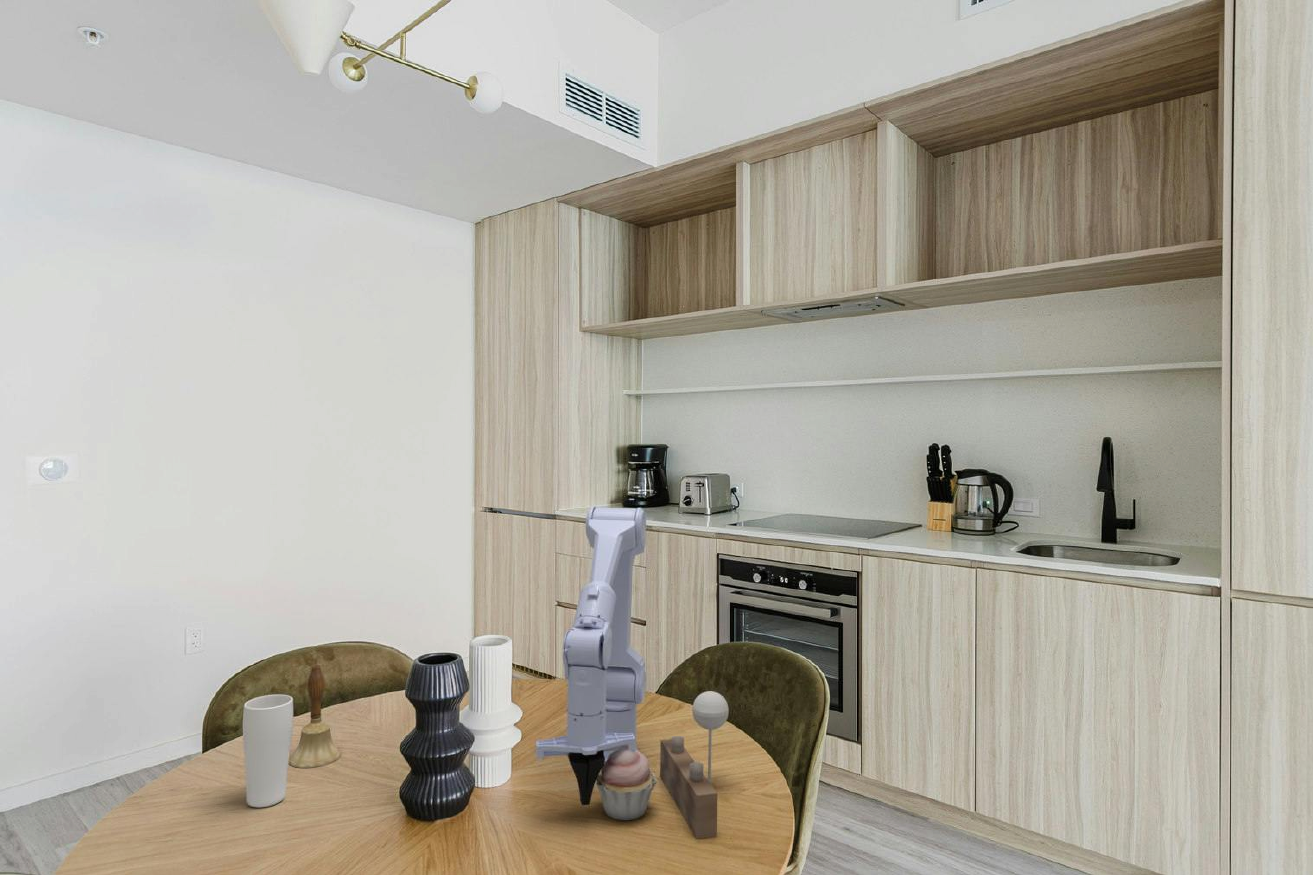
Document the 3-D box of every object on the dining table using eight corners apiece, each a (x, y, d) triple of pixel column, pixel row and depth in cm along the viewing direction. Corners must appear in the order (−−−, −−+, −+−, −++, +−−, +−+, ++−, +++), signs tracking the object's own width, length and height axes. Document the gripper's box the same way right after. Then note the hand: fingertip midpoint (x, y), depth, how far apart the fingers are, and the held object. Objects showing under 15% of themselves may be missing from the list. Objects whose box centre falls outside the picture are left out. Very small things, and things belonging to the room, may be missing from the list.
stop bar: (659, 776, 121) (660, 727, 121) (677, 774, 122) (678, 726, 122) (696, 838, 102) (697, 781, 102) (716, 836, 102) (717, 778, 103)
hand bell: (333, 767, 123) (335, 671, 123) (281, 769, 122) (283, 673, 122) (346, 747, 131) (348, 658, 131) (297, 749, 130) (299, 659, 130)
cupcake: (641, 791, 115) (642, 728, 116) (666, 819, 107) (667, 750, 107) (585, 802, 112) (586, 736, 112) (606, 831, 103) (607, 760, 103)
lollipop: (725, 796, 114) (726, 699, 115) (688, 792, 116) (689, 696, 116) (729, 778, 120) (730, 687, 121) (694, 775, 122) (695, 684, 122)
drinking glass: (301, 794, 113) (303, 697, 113) (264, 815, 106) (267, 711, 107) (267, 787, 115) (270, 691, 115) (229, 807, 109) (232, 705, 109)
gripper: (539, 723, 102) (537, 820, 102) (640, 715, 106) (638, 809, 106) (535, 705, 109) (533, 797, 109) (630, 699, 113) (628, 787, 113)
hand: (584, 802), depth 108 cm, fingers closed
